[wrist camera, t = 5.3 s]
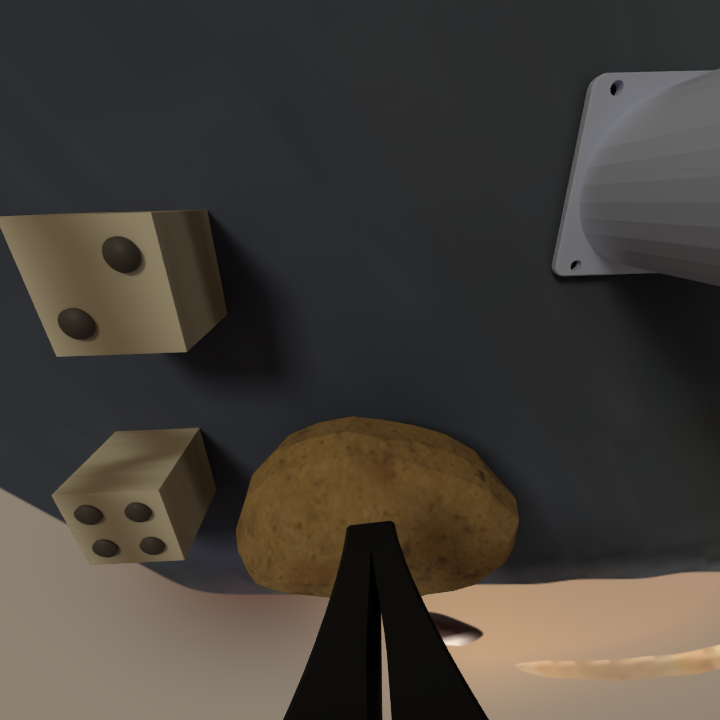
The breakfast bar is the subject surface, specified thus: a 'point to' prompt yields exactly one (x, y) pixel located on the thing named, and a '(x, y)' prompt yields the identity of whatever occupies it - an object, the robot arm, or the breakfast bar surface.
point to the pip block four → (139, 496)
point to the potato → (374, 506)
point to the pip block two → (119, 279)
